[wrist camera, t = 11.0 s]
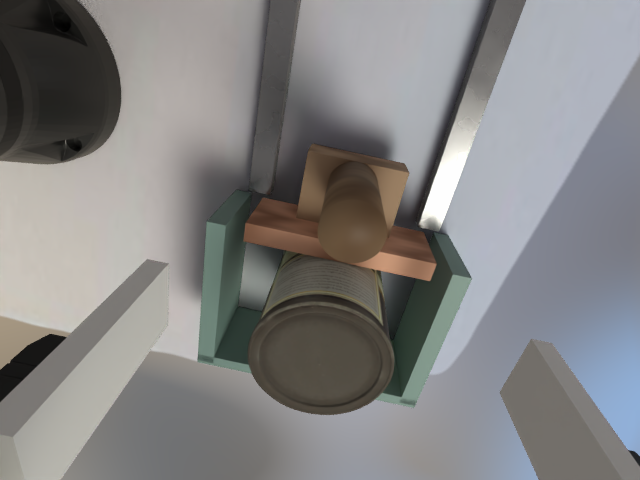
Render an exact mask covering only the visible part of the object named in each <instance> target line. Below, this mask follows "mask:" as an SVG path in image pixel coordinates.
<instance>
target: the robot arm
mask: <svg viewBox="0 0 640 480" xmlns="http://www.w3.org/2000/svg"><path fill="white" fill-rule="evenodd" d="M120 106H121V85H120V78H119V73H118V69H117V65H116V62H115V59H114V56H113V54H112V51H111V49H110V47H109V45H108V43H107V41H106V39H105V37H104V35H103V33H102V32H101V30H100V28H99V27H98V25H97V24H96V23H95V21H94V20H93V19H92V17H91V16H90V15H89V13H88V12H87V11H86V10H85V9H84V8H83V7H82V6H81V5H80V4H79V3H78V2H77V1H76V0H0V161H9V162H21V163H33V164H57V163H64V162H68V161H71V160H74V159H77V158H80V157H83V156H86V155H88V154H90V153H92V152H94V151H95V150H97V149H98V148H99V147H101V146H102V145H103V144H104V143H105V142H106V141H107V139H108V138H109V137H110V135H111V134H112V132H113V130H114V128H115V126H116V123H117V120H118V117H119V112H120ZM168 290H169V264H168V263H163V262H158V261H154V260H149V259H147V260H146V261H145V262H144V263H143V264H142V265H141V266H140V267H139V268H138V269H137V270H136V271H135V272H134V273H133V274H132V275H131V276H129V277H128V278H127V279H126V280H125V281H124V282H123V283H122V284H121V285H120V286H119V287H118V288H117V289H116V290H115V291H114V292H113V293H112V294H111V295H110V296H109V297H108V298H107V299H106V300H105V301H104V302H103V303H102V304H101V305H100V306H99V307H98V308H97V309H96V310H95V311H94V312H92V313H91V314H90V315H89V316H88V317H87V318H86V319H85V320H84V321H83V322H82V323H81V324H80V325H79V326H78V327H77V328H76V329H75V330H74V331H73V332H72V333H71V334H70V335H69V336H68V337H63V336H58V335H53V334H49V335H47V336H45V337H43V338H41V339H39V340H37V341H35V342H34V343H31V344H30V345H28V346H27V347H26V348H24V349H23V350H22V351H21V352H20V353H19V354H18V355H16V356H15V357H14V358H13V359H12V360H11V362H10V363H9V364H6V365H5V366H4V367H3V368H2V369H1V370H0V480H60V479H61V478H62V477H63V475H64V474H65V472H66V471H67V469H68V468H69V467H70V465H71V464H72V462H73V461H74V459H75V458H76V456H77V455H78V454H79V452H80V451H81V449H82V447H83V446H84V445H85V443H86V442H87V441H88V439H89V438H90V436H91V435H92V433H93V432H94V430H95V429H96V428H97V426H98V425H99V423H100V422H101V420H102V419H103V418H104V416H105V415H106V413H107V412H108V410H109V409H110V407H111V406H112V405H113V403H114V402H115V400H116V399H117V397H118V396H119V394H120V393H121V392H122V390H123V389H124V387H125V386H126V384H127V383H128V382H129V380H130V379H131V377H132V376H133V374H134V373H135V371H136V370H137V369H138V367H139V366H140V364H141V363H142V361H143V360H144V358H145V357H146V356H147V354H148V352H149V351H150V350H151V348H152V347H153V346H154V344H155V343H156V341H157V340H158V338H159V337H160V335H161V334H162V333H163V331H164V330H165V328H166V327H167V325H168ZM500 394H501V397H502V399H503V401H504V403H505V406H506V408H507V410H508V412H509V414H510V417H511V419H512V421H513V423H514V426H515V428H516V430H517V432H518V435H519V437H520V439H521V441H522V443H523V446H524V448H525V450H526V452H527V455H528V457H529V459H530V461H531V464H532V466H533V468H534V470H535V472H536V475H537V477H538V479H539V480H640V456H639V455H638V454H637V453H636V452H634V451H629V450H628V449H627V448H626V447H625V445H624V444H623V442H622V441H621V440H620V438H619V437H618V435H617V434H616V433H615V431H614V430H613V428H612V427H611V426H610V424H609V423H608V421H607V420H606V419H605V418H604V416H603V415H602V413H601V412H600V410H599V409H598V407H597V406H596V405H595V403H594V402H593V400H592V399H591V397H590V396H589V395H588V394H587V392H586V390H585V389H584V388H583V386H582V385H581V383H580V382H579V381H578V379H577V378H576V376H575V375H574V374H573V372H572V371H571V369H570V368H569V367H568V365H567V364H566V363H565V361H564V360H563V358H562V357H561V355H560V354H559V353H558V351H557V350H556V348H555V347H554V346H553V344H552V343H548V342H543V341H538V340H534V339H531V340H530V342H529V343H528V345H527V347H526V349H525V350H524V352H523V354H522V355H521V357H520V359H519V360H518V362H517V364H516V366H515V367H514V369H513V371H512V372H511V374H510V376H509V377H508V379H507V381H506V382H505V384H504V386H503V388H502V390H501V391H500Z"/></svg>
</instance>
